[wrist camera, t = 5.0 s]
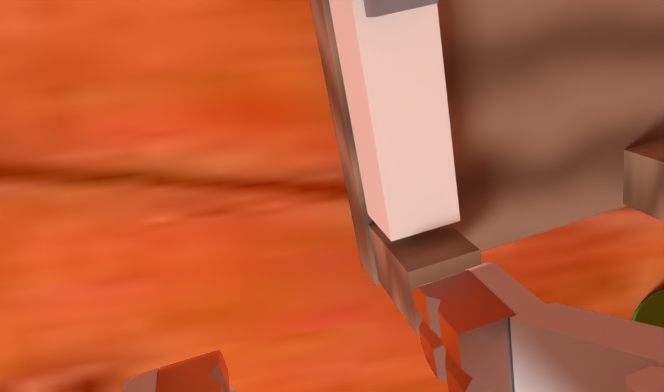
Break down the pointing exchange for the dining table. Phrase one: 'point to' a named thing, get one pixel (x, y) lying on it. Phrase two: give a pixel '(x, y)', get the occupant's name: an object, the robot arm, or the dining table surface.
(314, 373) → the dining table surface
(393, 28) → the hinged leg
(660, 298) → the cup
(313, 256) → the dining table surface
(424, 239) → the stool board
